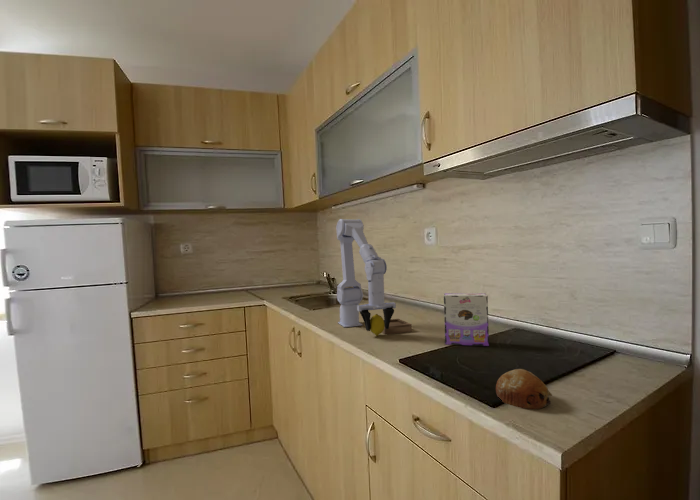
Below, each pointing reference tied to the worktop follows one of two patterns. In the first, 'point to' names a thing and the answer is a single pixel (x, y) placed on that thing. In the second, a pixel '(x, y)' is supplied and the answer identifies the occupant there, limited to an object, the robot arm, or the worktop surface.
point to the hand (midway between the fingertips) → (377, 329)
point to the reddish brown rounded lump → (522, 390)
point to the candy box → (466, 319)
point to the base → (397, 327)
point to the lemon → (376, 324)
